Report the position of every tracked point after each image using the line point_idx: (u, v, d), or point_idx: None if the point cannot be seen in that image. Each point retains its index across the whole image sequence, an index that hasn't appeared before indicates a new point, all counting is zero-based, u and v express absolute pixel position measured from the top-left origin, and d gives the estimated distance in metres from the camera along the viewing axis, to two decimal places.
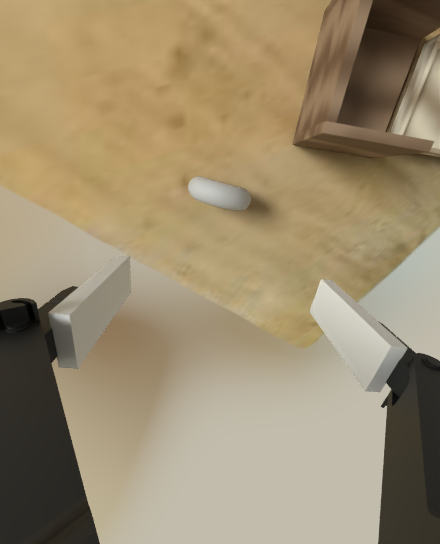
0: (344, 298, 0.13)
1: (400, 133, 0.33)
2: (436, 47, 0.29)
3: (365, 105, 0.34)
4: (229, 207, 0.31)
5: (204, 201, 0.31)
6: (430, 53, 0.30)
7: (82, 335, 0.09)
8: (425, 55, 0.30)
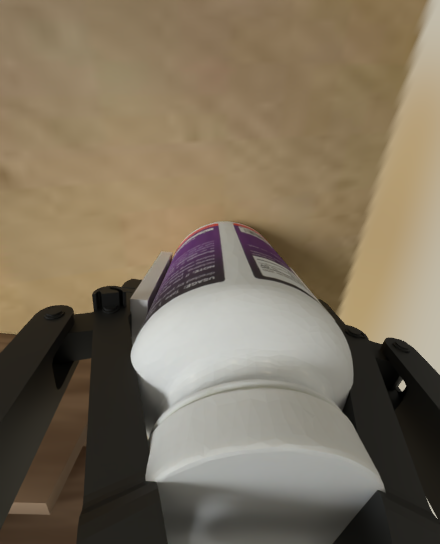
0: None
1: None
2: None
3: None
4: None
5: None
6: None
7: None
8: None
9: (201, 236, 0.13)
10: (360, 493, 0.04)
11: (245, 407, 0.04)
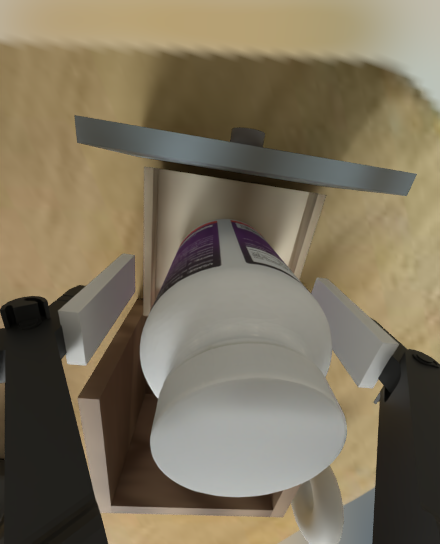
0: (339, 296, 0.13)
1: None
2: None
3: None
4: (341, 533, 0.26)
5: None
6: None
7: (90, 333, 0.09)
8: None
9: (201, 232, 0.14)
10: (325, 420, 0.06)
11: (235, 355, 0.06)
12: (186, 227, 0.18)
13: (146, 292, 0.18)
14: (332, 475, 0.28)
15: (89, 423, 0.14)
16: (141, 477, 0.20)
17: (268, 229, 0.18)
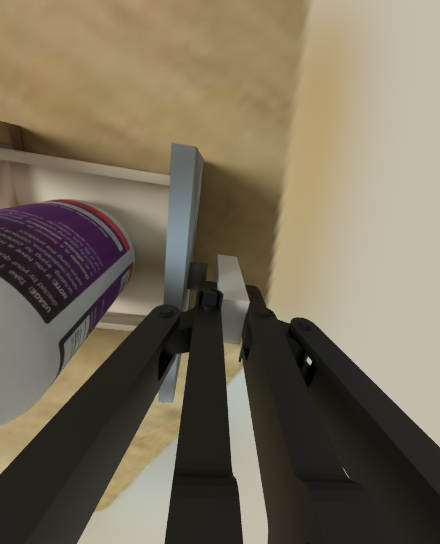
0: (232, 269, 0.14)
1: None
2: None
3: None
4: None
5: None
6: None
7: None
8: None
9: (109, 244, 0.13)
10: None
11: None
12: (121, 210, 0.16)
13: (16, 156, 0.13)
14: None
15: None
16: None
17: (132, 290, 0.19)
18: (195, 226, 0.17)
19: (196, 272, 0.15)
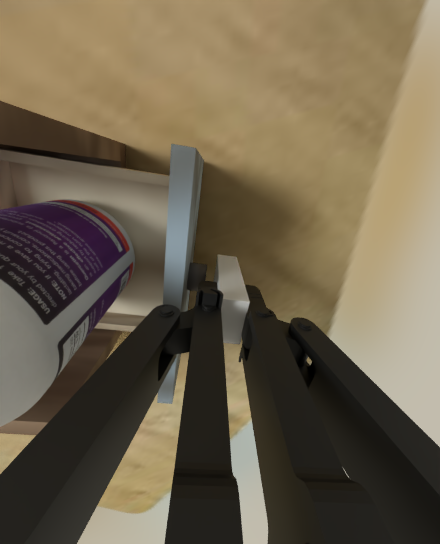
0: (232, 269, 0.14)
1: None
2: None
3: None
4: None
5: None
6: None
7: None
8: None
9: (109, 245, 0.13)
10: None
11: None
12: (120, 210, 0.16)
13: (16, 156, 0.13)
14: None
15: None
16: None
17: (132, 290, 0.19)
18: (195, 227, 0.16)
19: (196, 273, 0.15)
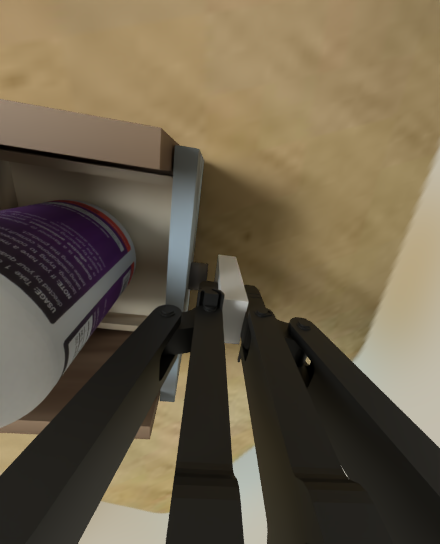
0: (231, 269, 0.14)
1: None
2: None
3: None
4: None
5: None
6: None
7: None
8: None
9: (111, 245, 0.14)
10: None
11: None
12: (121, 210, 0.17)
13: (17, 156, 0.13)
14: None
15: (85, 131, 0.07)
16: None
17: (132, 290, 0.19)
18: None
19: (197, 272, 0.15)
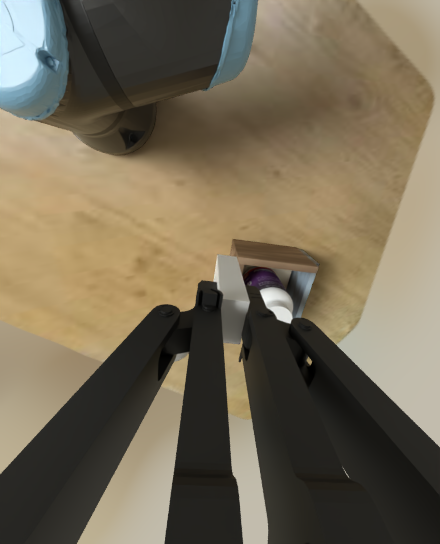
0: (232, 269, 0.14)
1: None
2: None
3: None
4: None
5: None
6: None
7: None
8: None
9: None
10: None
11: None
12: None
13: None
14: None
15: (305, 268, 0.38)
16: None
17: None
18: None
19: None
